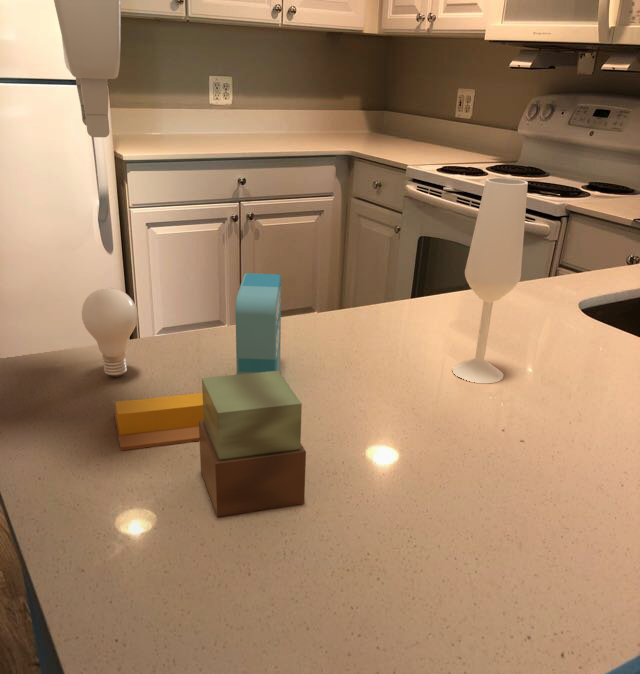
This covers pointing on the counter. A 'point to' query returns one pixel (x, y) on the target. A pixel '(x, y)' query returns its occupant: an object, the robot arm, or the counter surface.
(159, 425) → the bar
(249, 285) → the data package
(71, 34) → the robot arm
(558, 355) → the counter surface
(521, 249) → the champagne flute
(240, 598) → the counter surface
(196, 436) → the cork mat
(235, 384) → the tower
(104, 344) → the lightbulb
